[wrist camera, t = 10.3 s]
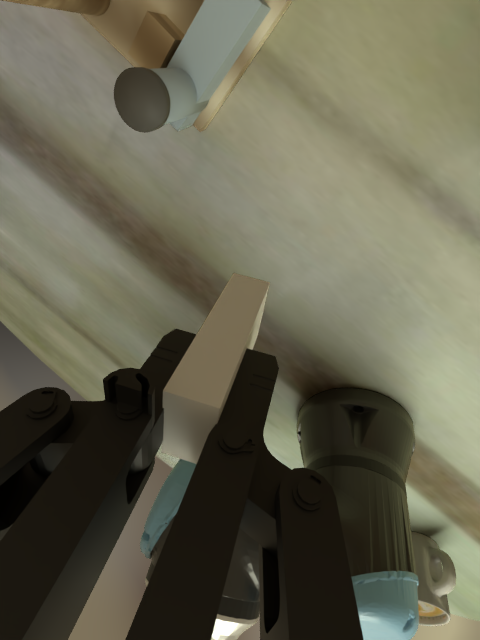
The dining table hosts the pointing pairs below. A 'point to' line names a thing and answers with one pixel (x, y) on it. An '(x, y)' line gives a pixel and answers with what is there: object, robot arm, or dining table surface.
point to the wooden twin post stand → (162, 34)
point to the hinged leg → (189, 67)
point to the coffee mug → (432, 580)
